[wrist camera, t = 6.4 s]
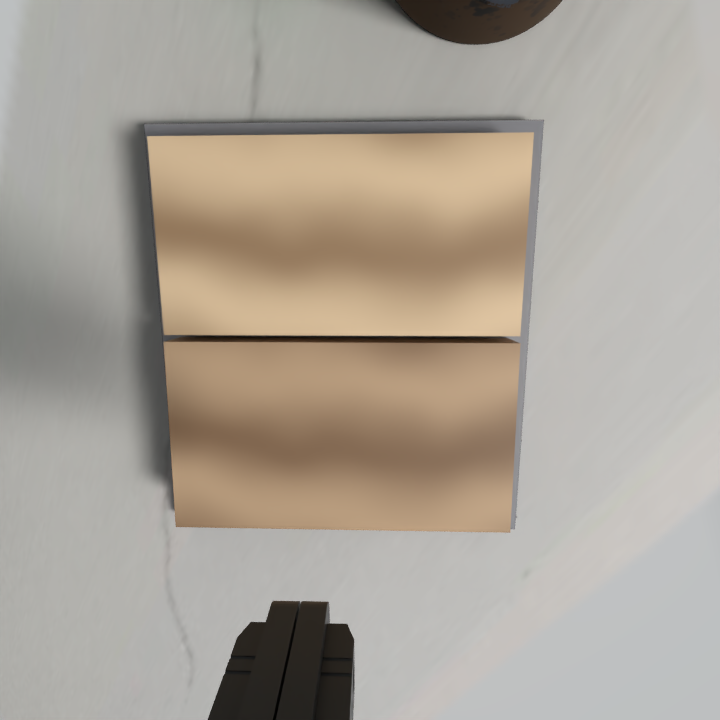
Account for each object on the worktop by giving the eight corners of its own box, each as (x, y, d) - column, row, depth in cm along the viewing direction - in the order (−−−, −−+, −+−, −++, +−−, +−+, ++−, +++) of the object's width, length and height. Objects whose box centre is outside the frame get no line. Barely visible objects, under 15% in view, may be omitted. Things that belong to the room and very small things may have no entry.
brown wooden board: (181, 336, 24) (163, 341, 22) (508, 338, 23) (520, 343, 21) (191, 507, 25) (175, 527, 23) (499, 512, 25) (510, 532, 23)
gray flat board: (154, 129, 23) (143, 124, 22) (536, 126, 22) (544, 119, 21) (185, 514, 27) (178, 523, 26) (509, 519, 26) (514, 529, 25)
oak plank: (167, 147, 22) (147, 136, 20) (519, 144, 21) (533, 132, 20) (181, 328, 24) (164, 335, 22) (508, 330, 23) (520, 336, 21)
